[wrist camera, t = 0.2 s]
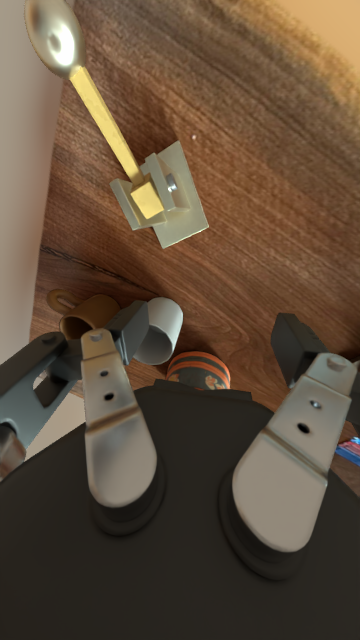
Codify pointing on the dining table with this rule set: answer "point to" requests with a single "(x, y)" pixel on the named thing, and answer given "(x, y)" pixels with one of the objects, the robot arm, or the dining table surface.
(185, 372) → the beer stein
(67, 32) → the switch lever
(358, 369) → the candlestick
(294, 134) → the dining table surface
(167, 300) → the cup
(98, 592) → the robot arm
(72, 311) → the mug
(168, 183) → the switch bracket
